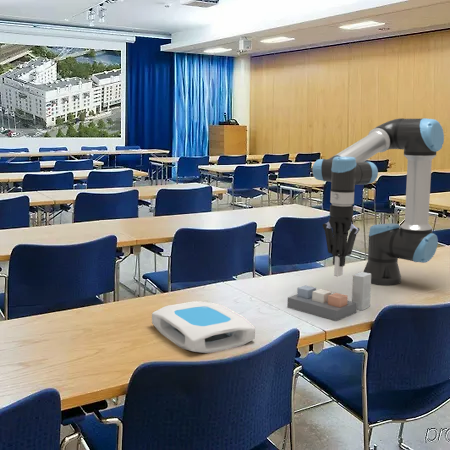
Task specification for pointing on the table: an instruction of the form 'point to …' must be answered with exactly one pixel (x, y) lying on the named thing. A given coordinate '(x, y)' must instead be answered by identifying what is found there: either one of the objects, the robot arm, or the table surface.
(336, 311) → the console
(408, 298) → the table surface
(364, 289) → the skincare box
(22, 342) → the table surface
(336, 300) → the terracotta key
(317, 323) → the table surface
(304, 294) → the slate key
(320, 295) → the white key
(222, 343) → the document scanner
